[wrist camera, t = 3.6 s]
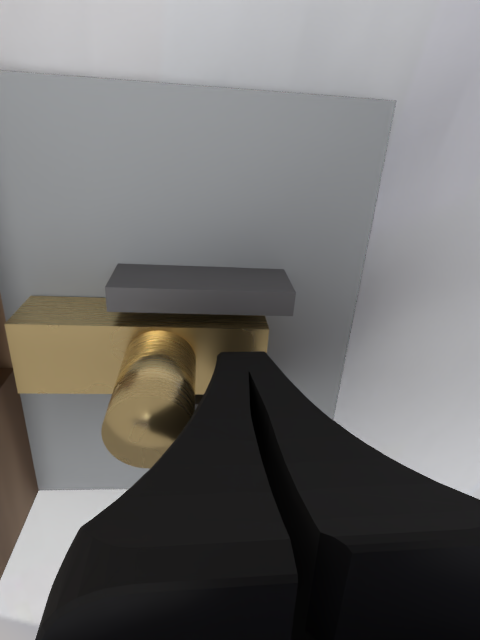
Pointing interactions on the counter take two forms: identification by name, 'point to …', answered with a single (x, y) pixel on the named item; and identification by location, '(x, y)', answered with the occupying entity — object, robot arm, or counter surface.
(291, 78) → the counter surface
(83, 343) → the bolt
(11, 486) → the jamb
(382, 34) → the counter surface
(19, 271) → the door slab
